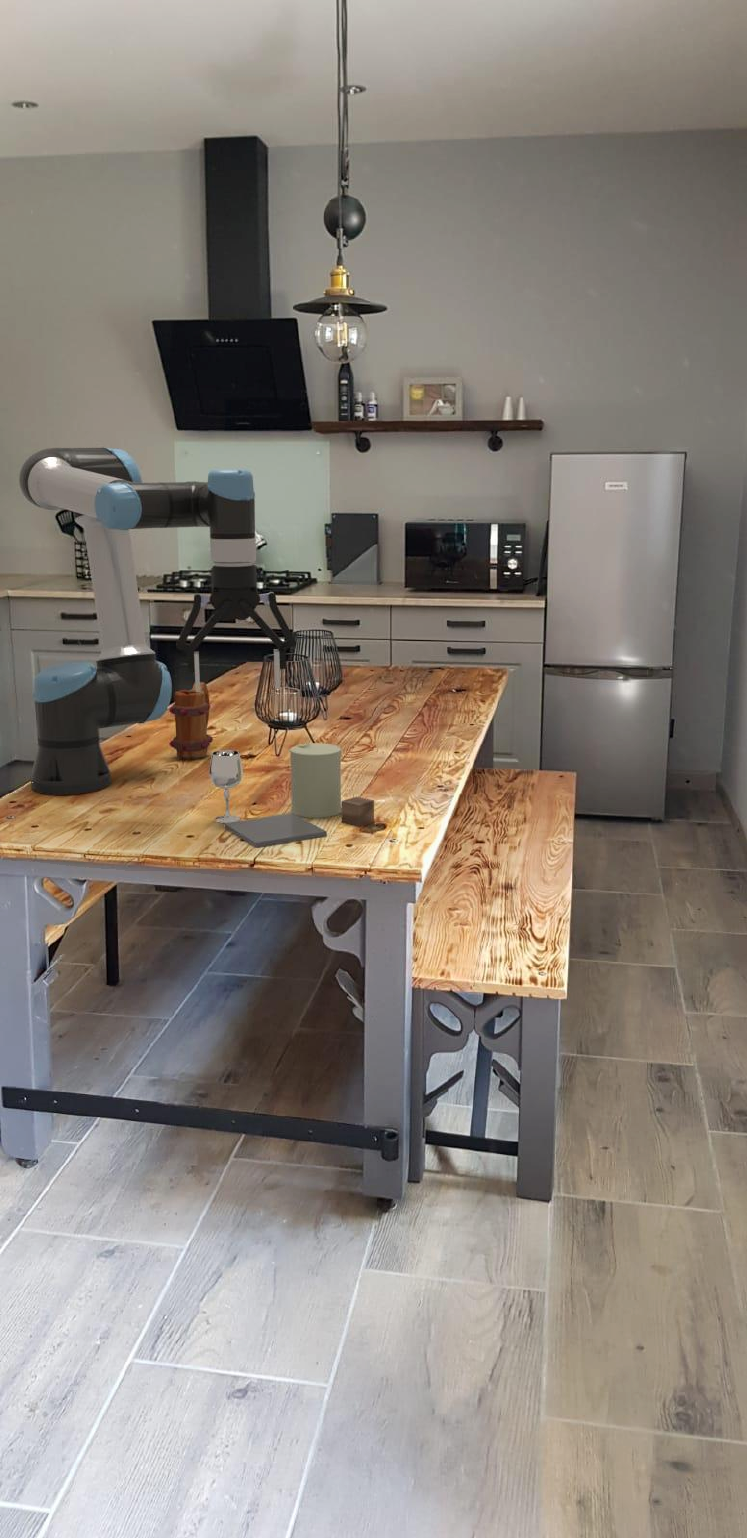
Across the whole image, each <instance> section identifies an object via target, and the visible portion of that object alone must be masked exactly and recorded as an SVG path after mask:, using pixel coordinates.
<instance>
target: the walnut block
mask: <svg viewBox="0 0 747 1538" xmlns="http://www.w3.org/2000/svg"><path fill="white" fill-rule="evenodd" d="M341 808H342V812H341V823H342V824H345V825H349V826H354V827H356V828H360V827H363V826H366V825H369V824H372V823H375V800H374V799H369V798H364V797H361V796H354V797H351V798H347V799H344V800H341Z"/></svg>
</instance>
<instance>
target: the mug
mask: <svg viewBox="0 0 747 1538" xmlns="http://www.w3.org/2000/svg"><path fill="white" fill-rule="evenodd" d="M173 698H174V699H173V700H174V703H173V705H172V706H171V707H169V710H168V711H169V712H170V713H171V714H173V715H174V721H175V722H174V724H175V736H174V737H173V739H172V740H171V741H170V742H169V746H170V747H171V748H173V749H175V750H176V756H177V757H178V758H181V759H185V760H195V759H197V760H198V759H200V758H204V757H205V756H207V754H208V750H209V749H208V748H209V747H210V746H211V743H212V742H213V741H214V738H213V737H212V736H210V735H209V734H208V732H207V731H208V730H207V729H208V724H209V720H210V719H209V717H210V708H211V704H210V695H209V690H208V687H207V684H206V683H205V682H204V681H202V682H201V681H200V692H196V686H195V682H194V683H193V685H192V689H189V690H187V689H181V690H179V691H175V692H174V697H173Z"/></svg>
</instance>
